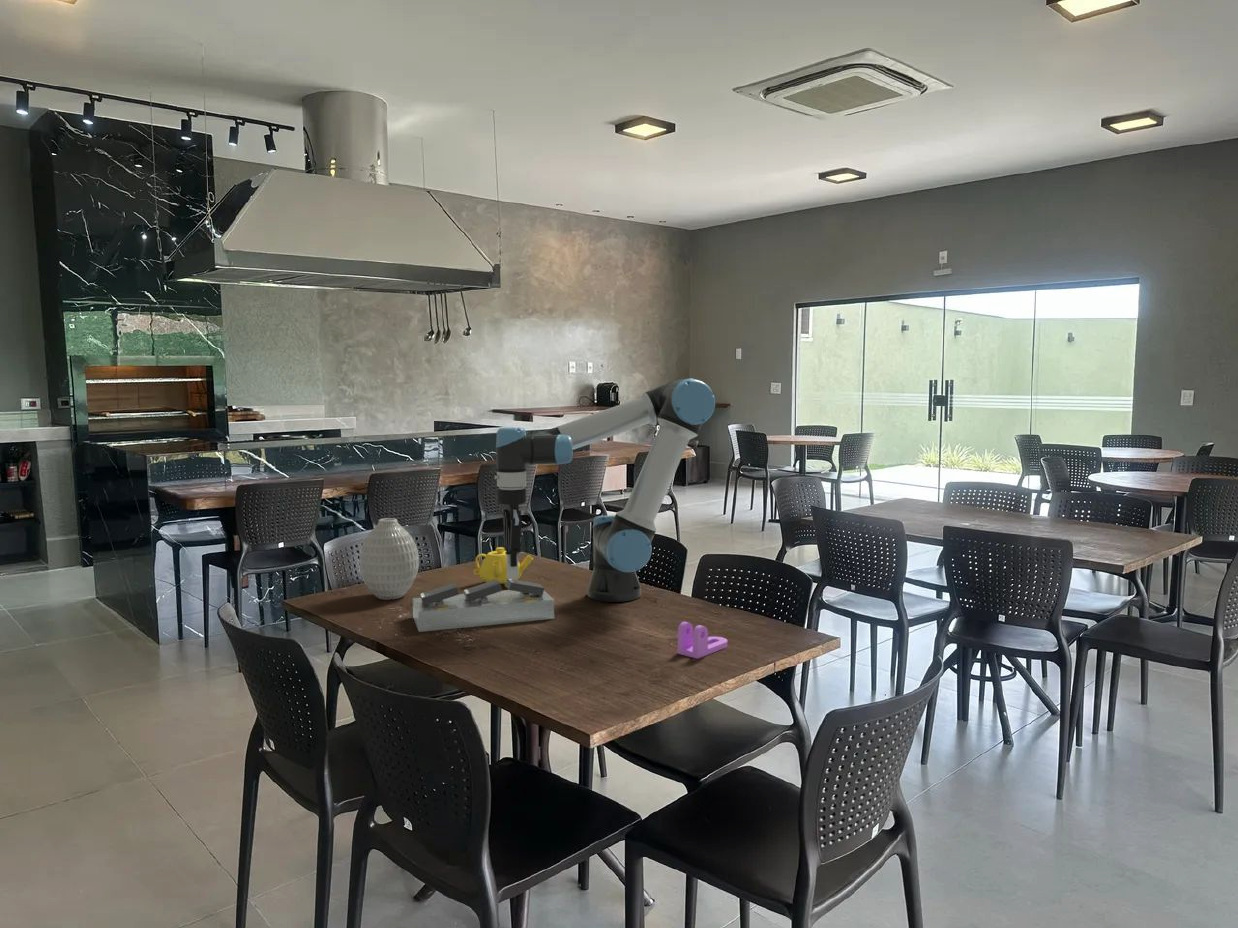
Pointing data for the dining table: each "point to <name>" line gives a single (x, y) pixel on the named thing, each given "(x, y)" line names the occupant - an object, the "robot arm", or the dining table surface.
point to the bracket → (697, 641)
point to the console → (482, 610)
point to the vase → (389, 560)
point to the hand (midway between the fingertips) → (512, 577)
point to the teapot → (497, 566)
